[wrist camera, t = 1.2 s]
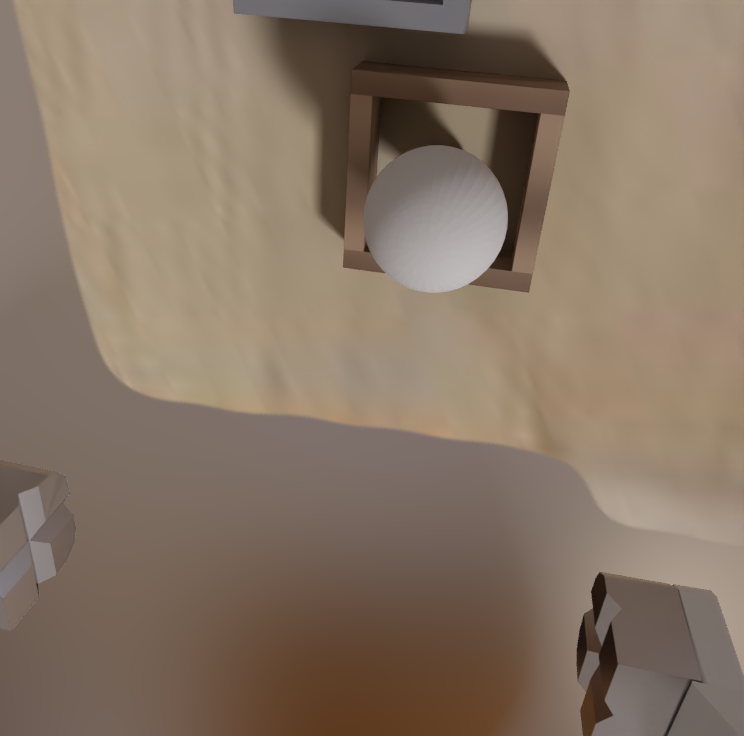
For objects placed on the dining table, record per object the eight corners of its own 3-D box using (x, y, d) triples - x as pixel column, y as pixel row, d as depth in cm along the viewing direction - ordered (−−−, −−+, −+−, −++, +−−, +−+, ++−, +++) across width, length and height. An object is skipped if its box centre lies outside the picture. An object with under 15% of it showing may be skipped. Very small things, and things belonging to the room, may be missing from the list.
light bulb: (429, 86, 32) (396, 136, 24) (535, 151, 33) (538, 223, 25) (371, 192, 36) (323, 269, 27) (469, 250, 36) (452, 342, 28)
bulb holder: (362, 61, 32) (351, 69, 30) (566, 81, 31) (569, 91, 29) (353, 249, 37) (343, 267, 35) (528, 272, 36) (528, 292, 34)
